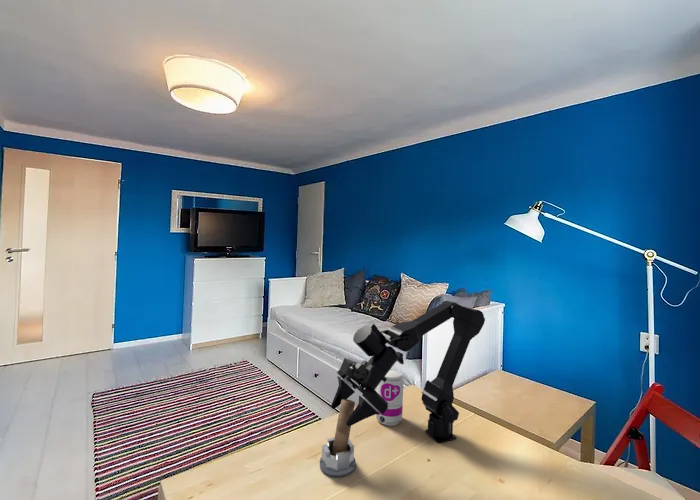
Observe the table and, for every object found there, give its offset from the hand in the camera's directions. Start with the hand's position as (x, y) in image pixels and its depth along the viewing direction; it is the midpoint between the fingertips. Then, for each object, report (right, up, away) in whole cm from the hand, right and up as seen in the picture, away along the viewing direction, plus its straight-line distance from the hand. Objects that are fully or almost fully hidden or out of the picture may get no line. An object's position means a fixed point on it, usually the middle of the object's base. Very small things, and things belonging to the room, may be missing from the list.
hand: (339, 416), depth 87 cm
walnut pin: (0, -11, 0) cm, 11 cm away
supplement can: (+15, -12, +23) cm, 30 cm away
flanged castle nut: (0, -12, 0) cm, 13 cm away
